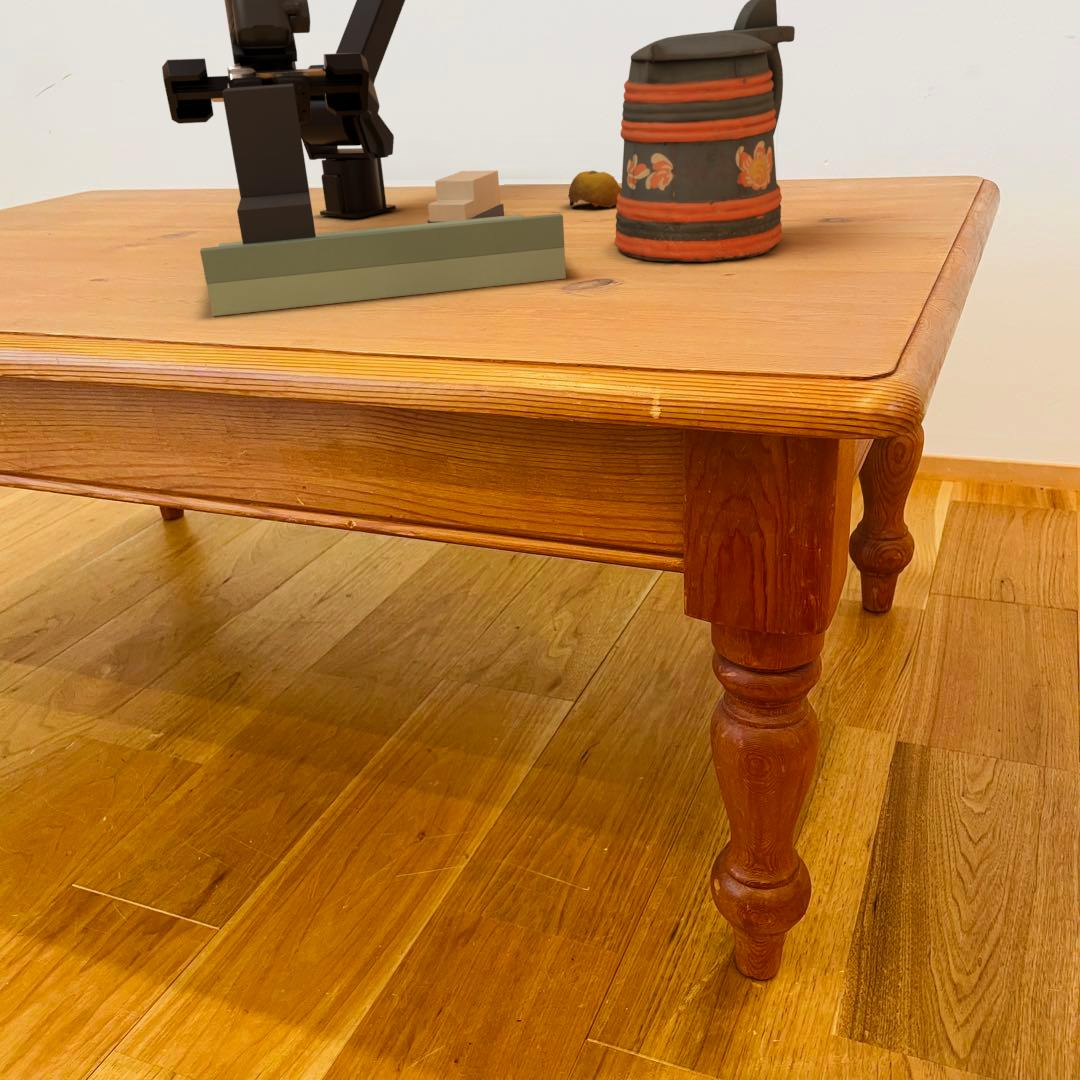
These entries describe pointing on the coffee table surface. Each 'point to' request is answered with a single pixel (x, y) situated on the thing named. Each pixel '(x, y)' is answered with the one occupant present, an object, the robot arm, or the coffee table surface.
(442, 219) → the stepped wooden block stack
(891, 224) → the coffee table surface
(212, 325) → the coffee table surface
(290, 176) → the dark notched upright block
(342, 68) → the robot arm
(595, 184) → the fruit
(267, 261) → the olive green plank
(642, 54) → the beer stein
